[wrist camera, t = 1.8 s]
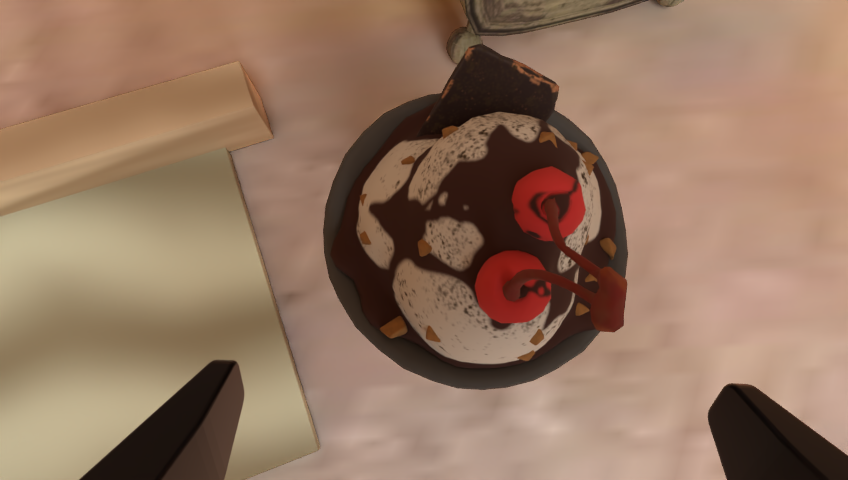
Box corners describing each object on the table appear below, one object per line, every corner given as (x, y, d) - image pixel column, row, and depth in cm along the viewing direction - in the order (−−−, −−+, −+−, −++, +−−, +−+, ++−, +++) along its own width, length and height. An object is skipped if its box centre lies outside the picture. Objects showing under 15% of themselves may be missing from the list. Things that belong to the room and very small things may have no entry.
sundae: (452, 396, 19) (633, 604, 4) (328, 290, 20) (123, 158, 5) (548, 273, 20) (940, 113, 6) (428, 176, 21) (502, -198, 6)
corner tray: (368, 428, 19) (363, 445, 16) (-88, 608, 17) (-192, 667, 14) (260, 98, 21) (239, 60, 18) (-147, 220, 19) (-246, 199, 16)
